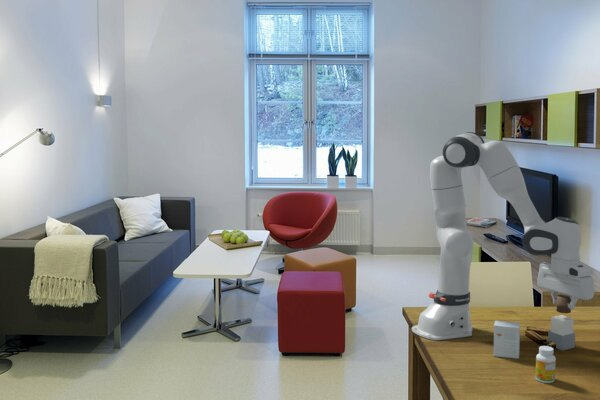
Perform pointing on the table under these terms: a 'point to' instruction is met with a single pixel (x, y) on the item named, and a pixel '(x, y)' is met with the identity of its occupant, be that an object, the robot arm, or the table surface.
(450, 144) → the robot arm
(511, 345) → the small box
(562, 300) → the walnut cylinder
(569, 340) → the base block
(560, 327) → the top block
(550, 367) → the supplement bottle
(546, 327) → the table surface
